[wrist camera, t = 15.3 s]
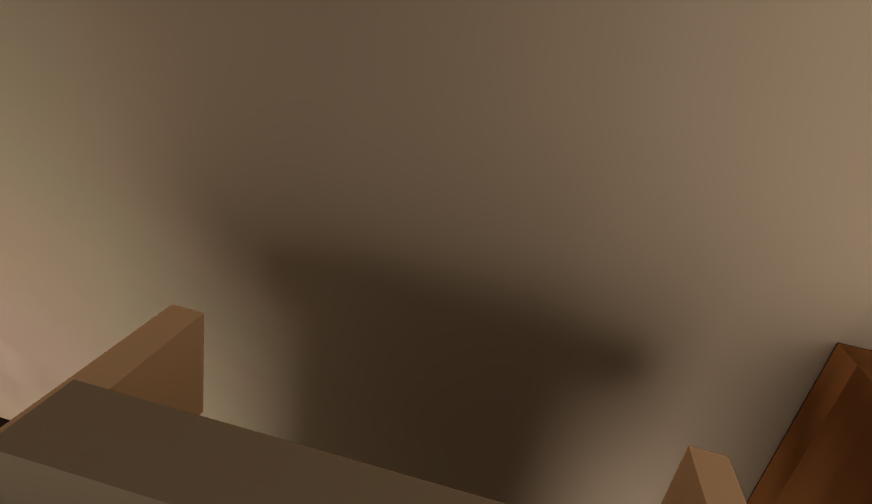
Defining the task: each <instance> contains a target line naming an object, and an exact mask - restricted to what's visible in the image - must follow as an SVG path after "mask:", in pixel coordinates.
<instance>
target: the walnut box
mask: <svg viewBox="0 0 872 504" xmlns="http://www.w3.org/2000/svg"><path fill="white" fill-rule="evenodd" d="M747 504H872V351H869V350H865V349H861V348H857V347H853V346H848V345H844V344H840V343H838V344H837V346H836V348H835V350H834V351H833V353H832V355H831V357H830V358H829V360H828V362H827V364H826V365H825V367H824V369H823V371H822V372H821V374H820V376H819V378H818V379H817V381H816V383H815V385H814V386H813V388H812V390H811V392H810V393H809V395H808V397H807V399H806V401H805V402H804V404H803V406H802V408H801V409H800V411H799V413H798V415H797V416H796V418H795V420H794V422H793V423H792V425H791V427H790V429H789V430H788V432H787V434H786V436H785V437H784V439H783V441H782V443H781V444H780V446H779V448H778V450H777V451H776V453H775V455H774V457H773V458H772V460H771V462H770V464H769V466H768V467H767V469H766V471H765V473H764V474H763V476H762V478H761V480H760V481H759V483H758V485H757V487H756V488H755V490H754V492H753V494H752V495H751V497H750V499H749V501H748V502H747Z"/></svg>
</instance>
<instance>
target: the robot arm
mask: <svg viewBox="0 0 872 504" xmlns="http://www.w3.org/2000/svg"><path fill="white" fill-rule="evenodd" d="M203 357H204V313H202V312H198V311H195V310H191V309H187V308H184V307H180V306H176V305H173V304H172V305H170V306H169V307H168V308H166V309H165V310H164V311H162V312H161V313H159V314H158V315H157V316H155V317H154V318H152V319H151V320H150V321H148V322H147V323H145V324H144V325H143V326H141V327H140V328H138V329H137V330H136V331H134V332H133V333H131V334H130V335H129V336H127V337H126V338H125V339H123V340H122V341H120V342H119V343H118V344H116V345H115V346H113V347H112V348H111V349H109V350H108V351H106V352H105V353H104V354H102V355H101V356H99V357H98V358H97V359H95V360H94V361H92V362H91V363H90V364H88V365H87V366H85V367H84V368H83V369H81V370H80V371H79V372H77V373H76V374H74V375H73V376H72V377H70V378H69V379H67V380H66V381H65V382H63V383H62V384H60V385H59V386H58V387H56V388H55V389H53V390H52V391H51V392H49V393H48V394H46V395H45V396H44V397H42V398H41V399H40V400H38V401H37V402H35V403H34V404H33V405H31V406H30V407H28V408H27V409H26V410H24V411H23V412H21V413H20V414H19V415H17V416H16V417H14V418H13V419H12V420H7V419H4V418H1V417H0V433H1V432H2V431H4V430H5V429H7V428H8V427H9V426H11V425H12V424H13V423H15V422H16V421H17V420H19V419H20V418H22V417H23V416H24V415H26V414H27V413H28V412H30V411H31V410H33V409H34V408H35V407H37V406H38V405H39V404H41V403H42V402H43V401H45V400H46V399H48V398H49V397H50V396H52V395H53V394H54V393H56V392H57V391H58V390H60V389H61V388H63V387H64V386H65V385H67V384H68V383H69V382H71V381H72V380H78V381H81V382H85V383H88V384H92V385H95V386H99V387H102V388H106V389H109V390H113V391H116V392H120V393H123V394H127V395H130V396H134V397H137V398H140V399H144V400H147V401H151V402H154V403H158V404H161V405H165V406H168V407H172V408H175V409H179V410H182V411H186V412H189V413H193V414H196V415H200V414H201V413H202V412H203ZM661 504H747V503H746V500H745V498H744V495H743V493H742V490H741V488H740V485H739V483H738V480H737V478H736V475H735V473H734V470H733V468H732V465H731V463H730V460H729V458H728V457H727V456H724V455H720V454H716V453H713V452H709V451H706V450H702V449H698V448H695V447H691V446H688V448H687V450H686V452H685V454H684V456H683V459H682V461H681V463H680V465H679V467H678V469H677V471H676V473H675V475H674V478H673V480H672V482H671V484H670V486H669V488H668V490H667V492H666V495H665V497H664V499H663V501H662V503H661Z"/></svg>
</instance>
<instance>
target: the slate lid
mask: <svg viewBox="0 0 872 504" xmlns="http://www.w3.org/2000/svg"><path fill="white" fill-rule="evenodd" d="M0 504H506V503H502V502H499V501H495V500H492V499H488V498H485V497H481V496H478V495H474V494H471V493H467V492H464V491H460V490H457V489H454V488H450V487H447V486H443V485H440V484H436V483H433V482H429V481H426V480H422V479H419V478H415V477H412V476H408V475H405V474H401V473H398V472H394V471H391V470H387V469H384V468H380V467H377V466H374V465H370V464H367V463H363V462H360V461H356V460H353V459H349V458H346V457H342V456H339V455H335V454H332V453H328V452H325V451H321V450H318V449H314V448H311V447H307V446H304V445H300V444H297V443H294V442H290V441H287V440H283V439H280V438H276V437H273V436H269V435H266V434H262V433H259V432H255V431H252V430H248V429H245V428H241V427H238V426H234V425H231V424H227V423H224V422H220V421H217V420H214V419H210V418H207V417H203V416H200V415H196V414H193V413H189V412H186V411H182V410H179V409H175V408H172V407H168V406H165V405H161V404H158V403H154V402H151V401H147V400H144V399H140V398H137V397H134V396H130V395H127V394H123V393H120V392H116V391H113V390H109V389H106V388H102V387H99V386H95V385H92V384H88V383H85V382H81V381H78V380H72V381H71V382H69V383H68V384H67V385H65V386H64V387H63V388H61V389H60V390H58V391H57V392H56V393H54V394H53V395H52V396H50V397H49V398H48V399H46V400H45V401H43V402H42V403H41V404H39V405H38V406H37V407H35V408H34V409H33V410H31V411H30V412H28V413H27V414H26V415H24V416H23V417H22V418H20V419H19V420H17V421H16V422H15V423H13V424H12V425H11V426H9V427H8V428H7V429H5V430H4V431H2V432H1V433H0Z"/></svg>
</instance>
